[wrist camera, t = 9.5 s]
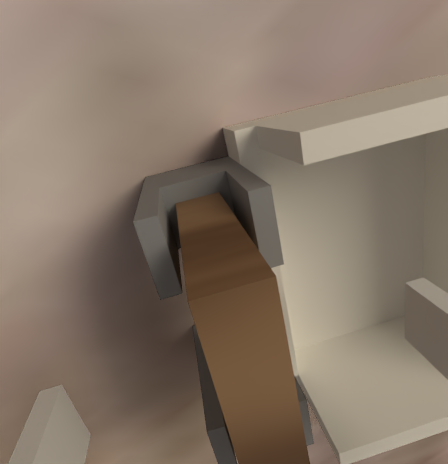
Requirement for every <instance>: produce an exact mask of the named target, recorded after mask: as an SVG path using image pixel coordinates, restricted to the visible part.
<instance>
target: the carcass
mask: <svg viewBox="0 0 448 464" xmlns="http://www.w3.org/2000/svg"><path fill="white" fill-rule="evenodd" d="M223 132H224V137H225V142H226V147H227V151H228V156H227V157H223V158H219V159H215V160H212V161H208V162H204V163H200V164H196V165H192V166H188V167H184V168H180V169H176V170H172V171H168V172H164V173H160V174H156V175H152V176H148V177H145V181H144V184H143V188H142V192H141V195H140V199H139V202H138V206H137V209H136V213H135V216H134V220H133V223H134V226H135V229H136V232H137V235H138V238H139V240H140V243H141V246H142V249H143V252H144V255H145V258H146V260H147V263H148V266H149V269H150V272H151V275H152V277H153V280H154V283H155V286H156V289H157V292H158V294H159V297H160V300H161V299H165V298H168V297H172V296H175V295H179V294H182V284H181V274H180V264H179V255H178V249H179V248H181V243H180V235H179V227H178V219H177V211H176V203H179V202H183V201H187V200H190V199H194V198H198V197H202V196H206V195H209V194H213V193H217V192H219V193H220V195H221V196H222V197H223V199H224V200H225V202H226V203H227V205H228V206H229V208H230V209H231V211H232V212H233V214H234V215H235V217H236V218H237V219H238V221H239V222H240V224H241V225H242V227H243V228H244V230H245V231H246V233H247V234H248V236H249V237H250V238H251V240H252V241H253V243H254V244H255V246H256V247H257V249H258V250H259V252H260V253H261V255H262V256H263V258H264V259H265V260H266V262H267V263H268V265H269V266H270V268H271V269H272V271H273V272H274V274H275V275H276V278H277V284H278V289H279V295H280V300H281V306H282V311H283V317H284V323H285V328H286V334H287V339H288V345H289V350H290V356H291V361H292V367H293V373H294V378H295V384H296V389H297V395H298V400H299V406H300V412H301V417H302V423H303V428H304V434H305V439H306V445H307V446H308V445H311V444H314V441H313V435H312V429H311V423H310V417H309V411H308V405H307V400H308V402H309V404H310V406H311V408H312V410H313V412H314V414H315V416H316V418H317V420H318V422H319V424H320V426H321V428H322V430H323V432H324V434H325V436H326V438H327V440H328V442H329V444H330V446H331V448H332V450H333V452H334V454H335V456H336V458H337V460H338V462H339V464H351V463H354V462H356V461H359V460H362V459H365V458H368V457H371V456H374V455H377V454H380V453H383V452H385V451H388V450H391V449H394V448H397V447H400V446H403V445H406V444H409V443H411V442H414V441H417V440H420V439H423V438H426V437H429V436H432V435H435V434H437V433H440V432H443V431H446V430H448V380H447V379H446V378H445V377H444V376H443V375H442V374H441V373H440V372H439V371H438V370H437V369H436V368H435V367H434V366H433V365H432V364H431V363H430V362H429V361H428V360H427V359H426V358H425V357H424V356H423V355H422V354H421V353H420V352H419V351H418V350H416V349H415V348H414V347H413V346H412V345H411V344H410V343H409V342H408V341H407V340H406V339H405V283H406V282H410V281H413V280H416V279H420V278H423V277H424V278H425V279H427V280H428V281H430V282H431V283H433V284H434V285H436V286H437V287H439V288H440V289H442V290H443V291H445V292H446V293H448V75H441V76H434V77H428V78H424V79H420V80H416V81H412V82H408V83H404V84H399V85H395V86H391V87H387V88H383V89H379V90H375V91H371V92H367V93H363V94H359V95H355V96H351V97H347V98H342V99H338V100H334V101H330V102H326V103H322V104H318V105H314V106H310V107H306V108H302V109H298V110H294V111H290V112H285V113H281V114H277V115H273V116H269V117H265V118H261V119H257V120H253V121H249V122H245V123H241V124H237V125H233V126H229V127H224V128H223ZM193 332H194V339H195V347H196V354H197V362H198V369H199V376H200V384H201V391H202V399H203V406H204V414H205V421H206V429H207V434H208V436H209V439H210V442H211V445H212V448H213V451H214V453H215V456H216V459H217V462H218V464H237V461H236V456H235V451H234V447H233V444H232V441H231V438H230V434H229V431H228V428H227V425H226V422H225V419H224V415H223V412H222V409H221V406H220V403H219V399H218V396H217V393H216V390H215V387H214V383H213V380H212V377H211V374H210V371H209V367H208V364H207V361H206V358H205V355H204V351H203V348H202V345H201V342H200V339H199V335H198V332H197V329H196V326H195V325H194V326H193ZM300 386H301V387H300ZM301 388H302V389H301ZM302 390H303V391H302ZM303 392H304V394H305V396H306V398H307V400H306V398H305V396H304V394H303Z"/></svg>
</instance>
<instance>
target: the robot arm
mask: <svg viewBox="0 0 448 464" xmlns="http://www.w3.org/2000/svg"><path fill="white" fill-rule="evenodd" d="M405 339H406V340H407V341H408V342H409V343H410V344H411V345H412V346H413V347H414V348H415V349H416V350H418V351H419V352H420V353H421V354H422V355H423V356H424V357H425V358H426V359H427V360H428V361H429V362H430V363H431V364H432V365H433V366H434V367H435V368H436V369H437V370H438V371H439V372H440V373H441V374H442V375H443V376H444V377H445V378H446V379H447V380H448V293H446V292H445V291H443V290H442V289H440V288H439V287H437V286H436V285H434V284H433V283H431V282H430V281H428V280H427V279H425V278H424V277H423V278H420V279H416V280H413V281H410V282H406V283H405ZM90 438H91V434H90V433H89V431H88V429H87V427H86V426H85V424H84V422H83V420H82V419H81V417H80V415H79V414H78V412H77V410H76V408H75V407H74V405H73V403H72V402H71V400H70V398H69V396H68V395H67V393H66V391H65V389H64V388H63V386H62V385H59V386H55V387H52V388H48V389H45V390H42V391H40V392H39V394H38V396H37V399H36V401H35V403H34V405H33V408H32V410H31V412H30V415H29V417H28V419H27V421H26V424H25V426H24V428H23V431H22V433H21V435H20V438H19V440H18V442H17V444H16V447H15V449H14V451H13V454H12V456H11V458H10V461H9V463H8V464H85V460H86V456H87V451H88V447H89V442H90Z"/></svg>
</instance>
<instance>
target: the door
mask: <svg viewBox="0 0 448 464" xmlns="http://www.w3.org/2000/svg"><path fill="white" fill-rule="evenodd" d="M176 211H177V219H178V227H179V235H180V243H181V251H182V259H183V267H184V275H185V283H186V291H187V298H188V304H189V307H190V310H191V313H192V316H193V319H194V323H195V326H196V329H197V332H198V335H199V339H200V342H201V345H202V348H203V351H204V355H205V358H206V361H207V364H208V367H209V371H210V374H211V377H212V380H213V383H214V387H215V390H216V393H217V396H218V399H219V403H220V406H221V409H222V412H223V415H224V419H225V422H226V425H227V428H228V431H229V434H230V438H231V441H232V444H233V447H234V450H235V454H236V457H237V460H238V463H239V464H310V462H309V456H308V451H307V445H306V439H305V434H304V428H303V423H302V417H301V412H300V406H299V400H298V395H297V389H296V384H295V378H294V373H293V367H292V361H291V356H290V350H289V345H288V339H287V334H286V328H285V323H284V317H283V311H282V306H281V300H280V295H279V289H278V284H277V278H276V275H275V274H274V272H273V271H272V269H271V268H270V266H269V265H268V263H267V262H266V260H265V259H264V258H263V256H262V255H261V253H260V252H259V250H258V249H257V247H256V246H255V244H254V243H253V241H252V240H251V238H250V237H249V236H248V234H247V233H246V231H245V230H244V228H243V227H242V225H241V224H240V222H239V221H238V219H237V218H236V217H235V215H234V214H233V212H232V211H231V209H230V208H229V206H228V205H227V203H226V202H225V200H224V199H223V197H222V196H221V195H220V193H219V192H217V193H213V194H209V195H206V196H202V197H198V198H194V199H190V200H187V201H183V202H179V203H176Z"/></svg>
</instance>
